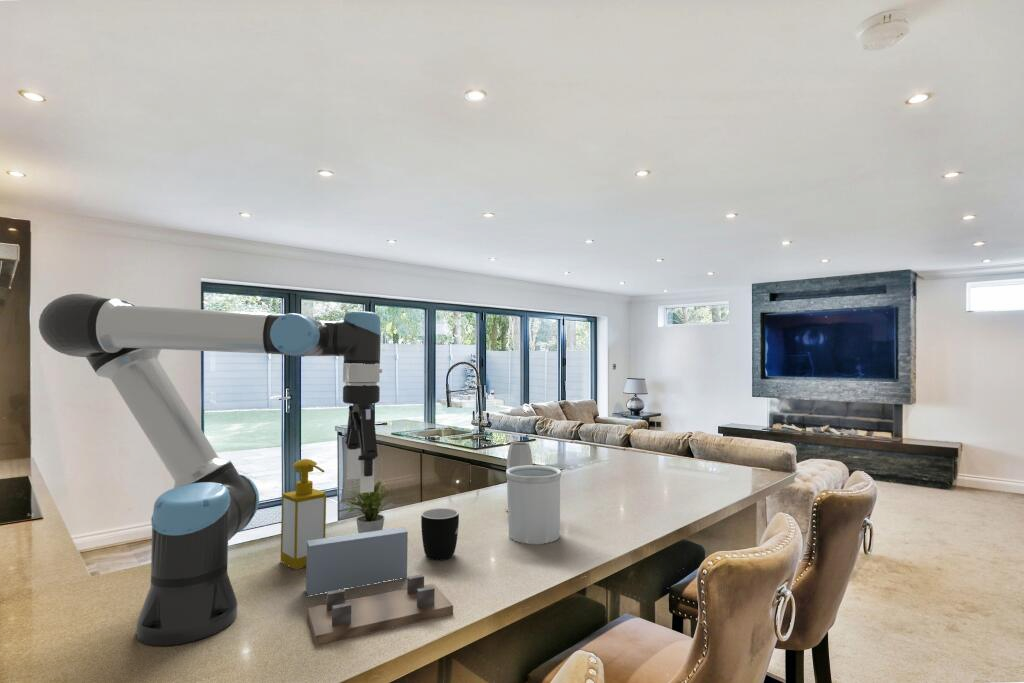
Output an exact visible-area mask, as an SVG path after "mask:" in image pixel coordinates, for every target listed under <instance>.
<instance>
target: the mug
mask: <svg viewBox="0 0 1024 683" xmlns="http://www.w3.org/2000/svg"><path fill="white" fill-rule="evenodd" d="M420 517H421V518H420V519H421V520H420V524H421V538H422V545H423V546H422V547H423V552H424V554H425V556H426V558H427V559H429V560H431V561H446V560H448V559H451V558H452V557H453V556H454V555H455V552H456V548H457V542H458V536H459V524H460V520H459V518H460V514H459V511H457V509H453V508H443V507H441V508H439V507H438V508H430V509H427V510H424V511H423V512H422V513H421V516H420Z"/></svg>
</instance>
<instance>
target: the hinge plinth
mask: <svg viewBox="0 0 1024 683" xmlns="http://www.w3.org/2000/svg"><path fill="white" fill-rule="evenodd" d="M406 579H407V580H406V581H407V585H406V586H407V587H406V588H403V589H399V590H394V591H388V592H387V591H386V592H383V593H377V594H373V595H367V596H362V597H358V598H353V599H352V598H351V599H347V600H346V590H344V589H340V590H334V591H329V592H327V593H326V604H322V605H321V604H320V605H316V606H312V607H308V608H307V619H308V624H309V626H310V630H311V634H312V637H313V641H314V645H315V646H318V645H322V644H327V643H330V642H331V643H332V642H335V641H340V640H345V639H348V638H353V637H357V636H360V635H361V636H362V635H366V634H370V633H374V632H379V631H384V630H388V629H393V628H397V627H401V626H406V625H410V624H414V623H419V622H423V621H428V620H432V619H436V618H437V619H438V618H441V617H446V616H449V615H453V614H454V605H453V604H452V602H451V601H450V600H449V599H448V598H447V597H446V595H445V594H444V593H443V592H442V591H441V589H439V588H438V587H437V586H436V584H435V583H434V582H433V583H428V584H425V576H424V574H423V573H422V574H415V575H410V576H407V578H406Z"/></svg>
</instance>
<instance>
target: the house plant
mask: <svg viewBox="0 0 1024 683" xmlns="http://www.w3.org/2000/svg"><path fill="white" fill-rule="evenodd" d="M383 480H384V478H383V477H382V478H380V479H379V480H378V481H377V482H376V480H375V479H374V492H367V493H360V491H359V492H358V491H355V490H354V489H351V488H348V490H350V491H347V488H345V487H344V488H343V487H341V489H345V490H346V491H345V492H350V493H353V494H354V495H355V496H356V497H354V498H355V500H352V499H351V500H349V499H346V500H344V499H343V500H342V502H343V503H349V508H348V509H347V514H349V513H351V512H353V511H359V512H362V514H361V515H360V516H357V517H356V525H357V534H358V533H365V532H372V531H379V530H384V529H383V528H384V523H385V515H383V514H381V512H382V510H381V509H382V508H383V507H384V506H386V505H388V504H390V503H392V501H389V502H386V503H385V504H384V505H382V501H383V499H384V498H385V497H386V495H387V494H388V493H389V492H390V491H392V488H390V489H388V490H387V488H388V485H389V484H387V485H386V486H385V484H386V483H385V481H384V482H383V484H382V481H383ZM353 482H354V483H356V484H357V485H358V487H359V488H360V482H357V481H354V480H353ZM381 484H382V486H381ZM380 487H381V488H380ZM384 487H385V488H384ZM379 489H380V490H379ZM383 489H384V490H383ZM386 490H387V491H386ZM352 491H353V492H352ZM355 493H356V494H355ZM360 499H361V500H360ZM393 503H395V501H393ZM395 504H396V503H395ZM352 505H354V506H358V507H354V506H352ZM359 507H360V508H359Z"/></svg>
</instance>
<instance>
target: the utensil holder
mask: <svg viewBox="0 0 1024 683" xmlns="http://www.w3.org/2000/svg"><path fill="white" fill-rule="evenodd" d="M505 476H506V479H507V480H506V489H507V490H506V491H507V492H506V493H507V507H508V512H507V523H508V526H507V527H508V537H509V539H511V540H512V539H513V540H514V542H516V541H517V543H519V542H521V543H520V544H524V543H527V544H526V545H544V543H545V544H550V543H552V542H555V541H557V540H558V539H559V538H560V535H561V534H560V530H561V528H560V526H561V478H562V470H561V469H559V468H557V467H554V466H549V465H548V466H547V465H538V464H537V465H535V464H534V465H533V464H532V465H525V466H517V467H512V468H509V469H507V468H506V470H505ZM513 540H512V541H513ZM549 542H550V543H549Z"/></svg>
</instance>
